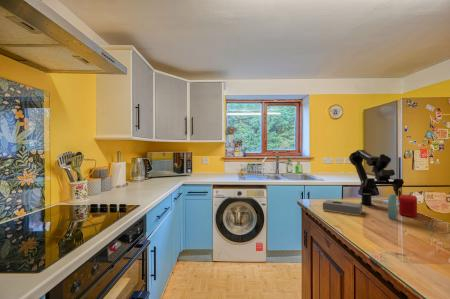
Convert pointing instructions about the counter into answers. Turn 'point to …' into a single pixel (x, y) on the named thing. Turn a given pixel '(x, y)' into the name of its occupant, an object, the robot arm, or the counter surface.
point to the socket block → (343, 207)
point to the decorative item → (408, 205)
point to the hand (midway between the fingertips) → (388, 195)
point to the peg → (392, 206)
